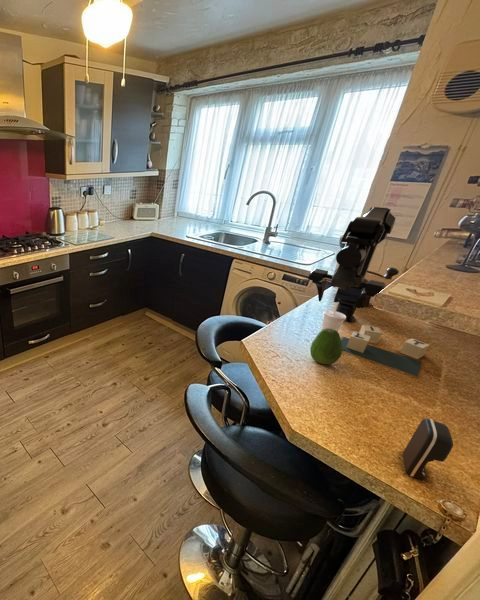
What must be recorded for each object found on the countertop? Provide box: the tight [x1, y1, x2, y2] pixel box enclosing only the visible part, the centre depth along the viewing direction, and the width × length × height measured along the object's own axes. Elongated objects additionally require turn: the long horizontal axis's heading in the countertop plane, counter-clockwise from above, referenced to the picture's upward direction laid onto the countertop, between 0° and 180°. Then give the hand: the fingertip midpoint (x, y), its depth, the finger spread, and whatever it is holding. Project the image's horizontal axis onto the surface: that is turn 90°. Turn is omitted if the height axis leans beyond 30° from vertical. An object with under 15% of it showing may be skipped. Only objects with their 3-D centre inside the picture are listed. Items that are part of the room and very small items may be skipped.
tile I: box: [358, 324, 383, 344], centre depth 112 cm, size 4×4×5 cm
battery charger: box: [402, 417, 454, 480], centre depth 65 cm, size 7×4×11 cm, turn 142°
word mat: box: [341, 336, 422, 377], centre depth 104 cm, size 11×20×1 cm, turn 42°
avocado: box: [310, 328, 343, 365], centre depth 99 cm, size 8×8×12 cm
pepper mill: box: [363, 267, 400, 308], centre depth 138 cm, size 16×11×18 cm
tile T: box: [399, 338, 430, 360], centre depth 104 cm, size 4×4×5 cm
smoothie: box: [320, 302, 346, 333], centre depth 111 cm, size 6×6×14 cm
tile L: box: [347, 331, 371, 353], centre depth 107 cm, size 4×4×5 cm
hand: (336, 305), depth 105 cm, fingers open, 9 cm apart
